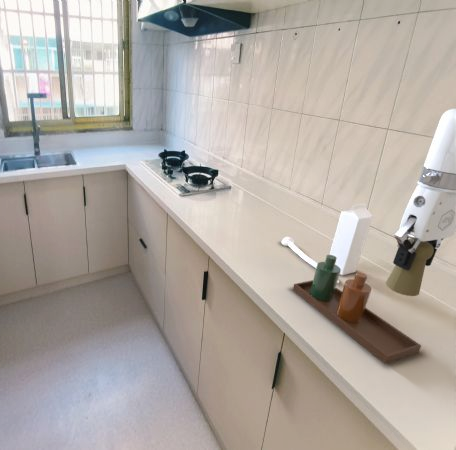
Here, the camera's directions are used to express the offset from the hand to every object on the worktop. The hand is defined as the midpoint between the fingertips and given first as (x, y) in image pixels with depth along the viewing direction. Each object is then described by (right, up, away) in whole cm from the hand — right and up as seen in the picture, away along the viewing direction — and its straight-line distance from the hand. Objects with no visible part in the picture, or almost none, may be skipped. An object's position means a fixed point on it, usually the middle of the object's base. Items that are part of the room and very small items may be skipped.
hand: (411, 264), depth 70 cm
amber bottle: (-5, -15, +15) cm, 21 cm away
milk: (+6, -6, +37) cm, 38 cm away
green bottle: (-8, -11, +23) cm, 26 cm away
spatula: (-2, -4, +41) cm, 42 cm away
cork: (0, -5, +2) cm, 6 cm away
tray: (-5, -15, +15) cm, 22 cm away
